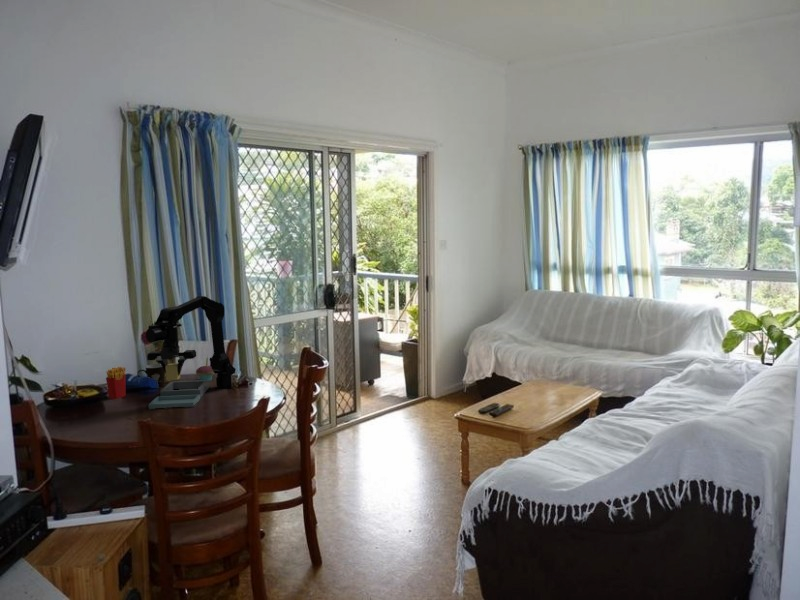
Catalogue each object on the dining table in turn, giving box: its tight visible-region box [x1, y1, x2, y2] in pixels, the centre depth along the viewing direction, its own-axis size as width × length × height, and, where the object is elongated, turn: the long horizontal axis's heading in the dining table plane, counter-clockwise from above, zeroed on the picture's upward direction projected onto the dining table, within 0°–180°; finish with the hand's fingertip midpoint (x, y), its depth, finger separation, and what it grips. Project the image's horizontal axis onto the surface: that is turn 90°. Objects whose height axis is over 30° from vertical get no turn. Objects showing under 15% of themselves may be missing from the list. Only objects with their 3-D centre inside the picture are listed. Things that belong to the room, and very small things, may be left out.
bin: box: [159, 379, 210, 398], centre depth 282 cm, size 17×17×4 cm
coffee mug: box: [137, 363, 166, 388], centre depth 294 cm, size 12×9×10 cm
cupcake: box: [195, 355, 214, 382], centre depth 304 cm, size 9×8×12 cm
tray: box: [148, 395, 201, 410], centre depth 265 cm, size 18×12×2 cm, turn 95°
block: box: [165, 362, 181, 381], centre depth 264 cm, size 4×4×6 cm
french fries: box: [105, 366, 126, 400], centre depth 278 cm, size 9×4×13 cm, turn 155°
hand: (173, 375), depth 264 cm, fingers closed on block, 4 cm apart
